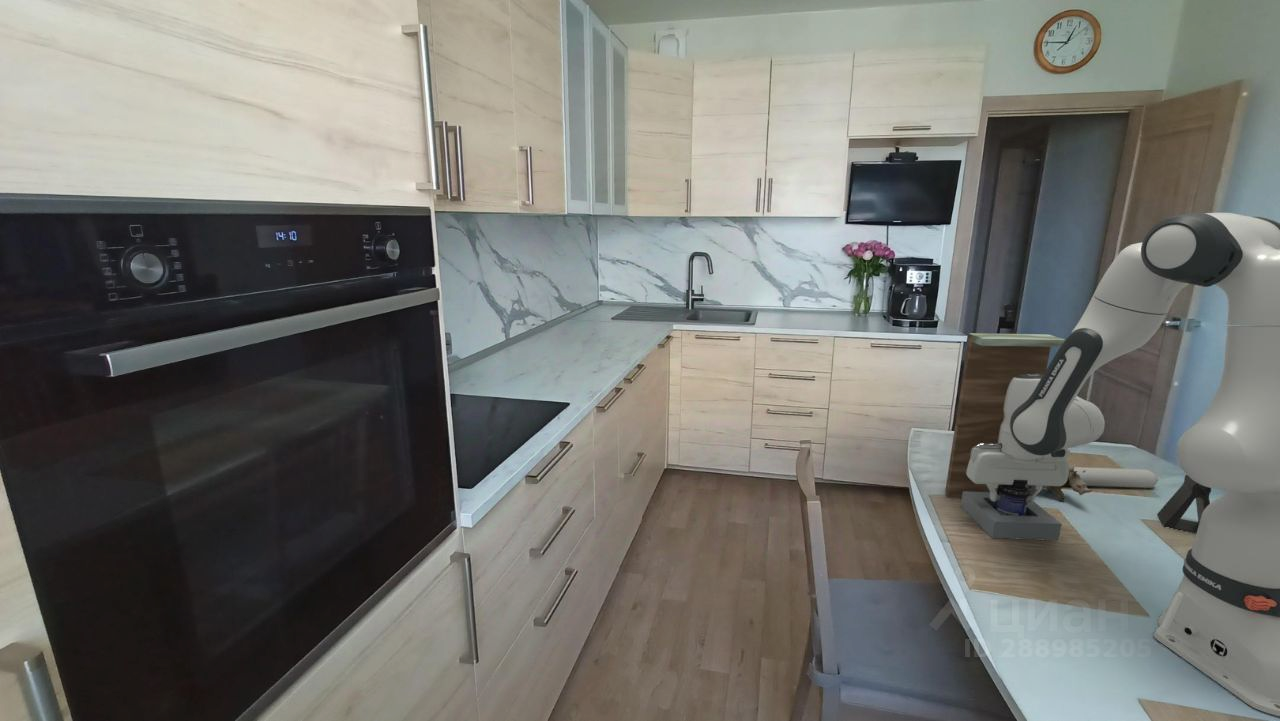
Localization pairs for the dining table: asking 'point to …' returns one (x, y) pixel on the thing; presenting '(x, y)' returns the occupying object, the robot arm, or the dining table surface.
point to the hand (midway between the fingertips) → (1011, 500)
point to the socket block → (1010, 519)
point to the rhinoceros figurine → (1073, 481)
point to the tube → (1117, 477)
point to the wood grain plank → (990, 394)
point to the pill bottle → (1013, 498)
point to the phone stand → (1185, 506)
